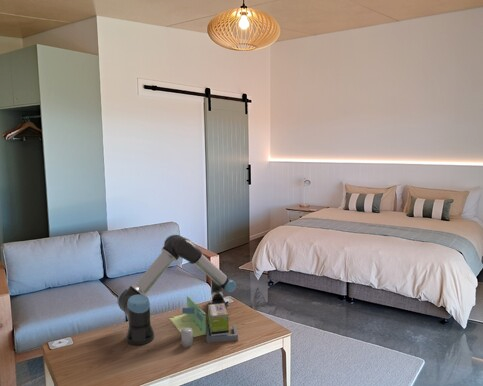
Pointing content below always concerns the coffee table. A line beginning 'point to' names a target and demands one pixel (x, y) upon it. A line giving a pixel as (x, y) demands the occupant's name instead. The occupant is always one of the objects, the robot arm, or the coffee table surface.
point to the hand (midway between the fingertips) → (220, 315)
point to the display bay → (222, 336)
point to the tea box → (218, 319)
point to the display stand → (191, 319)
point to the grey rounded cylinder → (187, 337)
